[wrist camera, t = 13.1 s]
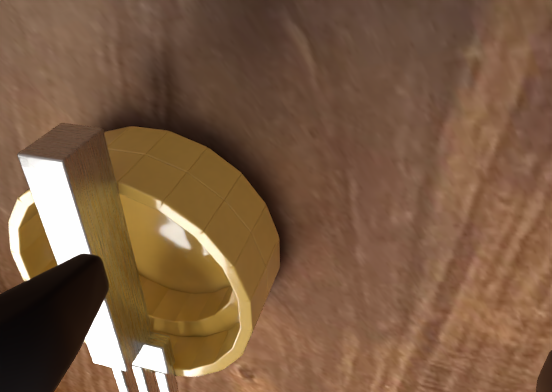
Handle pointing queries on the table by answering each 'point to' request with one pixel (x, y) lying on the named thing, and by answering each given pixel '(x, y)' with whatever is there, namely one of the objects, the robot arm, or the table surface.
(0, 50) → the table surface
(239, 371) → the table surface
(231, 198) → the bowl
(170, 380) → the fork
